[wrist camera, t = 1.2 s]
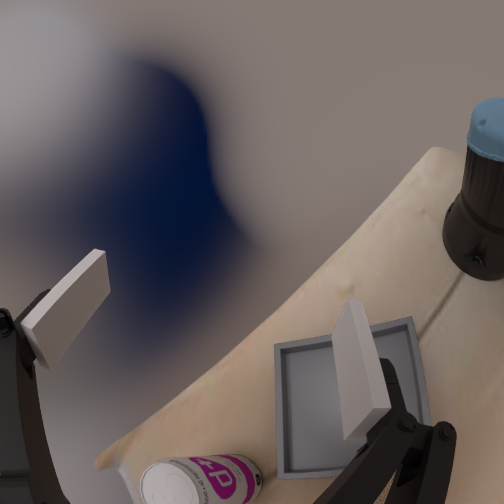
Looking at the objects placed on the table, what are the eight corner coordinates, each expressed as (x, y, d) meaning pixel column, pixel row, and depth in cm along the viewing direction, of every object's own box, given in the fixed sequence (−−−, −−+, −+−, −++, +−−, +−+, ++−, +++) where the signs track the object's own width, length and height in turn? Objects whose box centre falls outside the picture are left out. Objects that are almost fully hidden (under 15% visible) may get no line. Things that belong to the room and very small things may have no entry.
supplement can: (241, 443, 32) (176, 443, 21) (275, 488, 27) (221, 515, 16) (199, 469, 32) (124, 473, 20) (228, 512, 26) (160, 537, 15)
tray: (408, 325, 33) (411, 315, 31) (426, 454, 23) (432, 456, 20) (281, 350, 39) (273, 343, 36) (285, 475, 28) (277, 479, 25)
